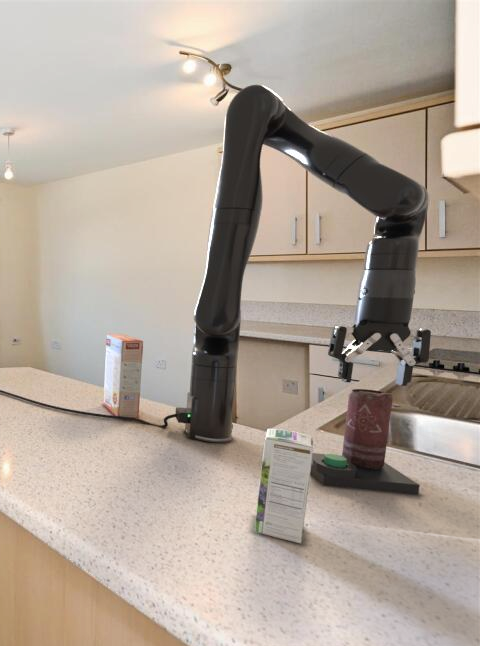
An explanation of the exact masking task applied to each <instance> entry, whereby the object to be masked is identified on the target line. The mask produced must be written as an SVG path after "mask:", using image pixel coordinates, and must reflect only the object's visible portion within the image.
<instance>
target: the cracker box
mask: <svg viewBox="0 0 480 646" xmlns="http://www.w3.org/2000/svg"><path fill="white" fill-rule="evenodd" d="M105 344H106V345H105V365H104V383H103V385H104V387H103V402H102V403H103V405H104V406H105V407H106V408H107V410H109V412H111V413H112V414H113V416H122V417H130V418H136V419H140V418H139V417H140V403H141V402H140V400H141V385H142V367H143V354H144V353H143V352H144V340H141V339H138V338H136V337H133V336H130V335H126V334H121V333H120V334H119V333H117V334H114V333H113V334H106V343H105Z"/></svg>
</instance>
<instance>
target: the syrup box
mask: <svg viewBox="0 0 480 646" xmlns="http://www.w3.org/2000/svg"><path fill="white" fill-rule="evenodd" d="M313 438H314V437H313V436H312V435H308V434H305V433H301V432H297V431H293V430H287V429H279V428H267V430H266V435H265V439H264V445H263V452H262V459H261V468H260V474H259V481H258V482H259V484H258V494H257V505H256V514H255V522H254V532H255V533H258V534H262V535H264V536H265V535H266V536H269V537H273V538H276V539H280V540H285V541H290V542H293V543H297V544H302V543H303V542H302V541H303V534H304V527H305V526H304V525H305V518H306V511H307V503H308V494H309V486H310V478H311V474H310V471H311V462H312V453H314V452H313V451H314V439H313Z"/></svg>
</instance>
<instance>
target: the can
mask: <svg viewBox="0 0 480 646" xmlns="http://www.w3.org/2000/svg"><path fill="white" fill-rule="evenodd" d="M393 398H394V396H393V394H392V393H389V392H384V391H381V390H374V389H365V388H354V389H351V392H350V393H349V394H348V399H347V400H348V401H347V408H346V409H347V410H346V419H345V426H344V435H343V443H342V450H341V452H342V454H341V456H343V457H345V458H346V459H347V462H350V463H352V464H354V465H355V466H356V467H358V468H363V469H369V470H378V469H381V468H382V467H383V466H384V462H385V461H386V453H387V446H388V437H389V429H390V422H391V414H392V407H393V401H394V399H393Z"/></svg>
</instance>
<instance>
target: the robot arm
mask: <svg viewBox="0 0 480 646" xmlns="http://www.w3.org/2000/svg"><path fill="white" fill-rule="evenodd" d="M222 145H223V146H222V158H221V163H220V164H221V165H220V170H219V175H218V180H217V184H216V191H215V195H214V196H215V197H214V200H213V201H214V202H213V205H212V206H213V207H212V210H211V217H210V222H209V229H208V237H207V246H206V247H207V249H206V266H205V272H204V278H203V281H202V285H201V289H200V292H199V295H198V299H197V302H196V305H195V308H194V311H193V321H194V334H193V335H194V337H193V346H192V352H191V364H190V365H191V368H190V381H189V391H188V392H187V396H186V407H180V406H179V407H176V406H175V413H172V414H170V415H166V416H165V417H164V418H163V424H162V425H161V424H160V425H159V424H153V423H151V422H149V421H146V420H143V419H141V418H130V417H122V416H116V415H111V414H104V413H103V414H102V413H95V412H88V411H81V410H75V409H71V408H70V409H69V408H66V407H60V406H56V405H52V404H47V403H44V402H40V401H36V400H34V399H30V398H26V397H24V396H21V395H18V394H14V393H11V392H8V391H5V390H2V389H0V393H2V394H5V395H7V396H10V397H14V398H16V399H20V400H23V401H25V402H28V403H32V404H35V405H39V406H43V407H46V408H50V409H54V410H57V411H62V412H68V413H74V414H79V415H84V416H92V417H99V418H106V419H116V420H125V421H131V422H137V423H141V424H144V425H149V426H153V427H158V428H162V429H165V428H167V427H168V426H169V423H168V420H169V419H174V418H175V419H176V421H177V423H179V424H185V425H184V431H185V433H186V435H187V437H188V439H191V440H192V439H193V440H198V441H202V442H208V443H215V444H217V443H220V444H221V443H228V442H231V441H232V438H233V434H232V433H233V429H234V424H233V419H234V409H235V407H234V406H235V395H236V394H235V393H236V382H237V371H238V358H239V348H240V335H241V324H242V323H241V322H242V310H241V308H242V307H241V305H242V304H241V303H242V302H241V301H242V289H243V281H244V276H245V271H246V268H247V264H248V262H249V259H250V256H251V254H252V251H253V249H254V245H255V242H256V237H257V234H258V229H259V225H260V220H261V216H262V211H263V210H262V209H263V198H264V197H263V181H262V173H261V171H262V169H261V156H262V151H263V147H264V146H266V147H269V148H271V149H274V150H276V151H277V152H280V153H282V154H283V155H285V156H287V157H289V158H290V160H293V161H294V162H295V163H297V165H299V166H301V167H302V169H304V170H305V171H307V172H308V173H309V174H311V175H312V176H314V177H315V178H316V179H318V180H320V181H321V182H322V183H325V184H326V185H328V186H329V187H331V188H332V189H334V190H336V191H337V192H339V193H341V194H343V195H346V196H347V197H349V198H350V199H351V200H352V201H354V202H355V203H357V204H358V206H361V207H362V208H363V209H365V210H366V211H367V212H369V213H370V214H372V215H374V217H375V221H374V227H373V232H372V237H371V238H370V239H369V241H368V243H367V244H366V248H365V253H364V260H363V268H362V273H361V275H360V276H361V277H360V280H359V285H358V293H357V300H356V308H355V314H354V324H353V325H352V326H343V325H339V324H336V325H334V326H333V327H332V331H331V336H330V341H329V346H328V349H327V350H328V351H327V355H328V356H329V357H331V358H335V359H336V360H338V362H339V364H338V365H339V366H338V372H337V377H338V378H339V379H340V380H341V382H344V383H351V382H352V377H353V369H354V362H353V361H354V360H355V359H356V358H357V357H358V356H359V355H362V354H363V353H365V352H366V351H369V352H379V351H381V352H385V353H391V354H393V355H394V356H395V358H396V359H397V360H398V362H399V363H397V366H396V367H397V368H396V375H395V381H394V382H395V385H398V386H403V387H406V386H408V384H410V383H411V381H412V378H413V371H414V366H416V365H417V364H418V365H419V364H421V363H422V364H426V363H428V361H430V348H431V336H432V332H431V329H427V328H421V327H416V328H413V329H410V326H409V324H410V322H411V317H412V311H413V305H414V298H415V294H416V283H417V280H416V279H417V277H416V272H417V271H416V269H417V263H418V258H419V257H418V256H419V250H420V248H419V247H420V239H421V235H422V233H423V230H424V225H425V222H426V218H427V214H428V210H429V203H430V202H429V201H430V196H429V192H428V190H427V188H426V187H425V186H424V185H422V184H421V183H419V182H418V181H417V180H415V179H413V178H411V177H410V176H407V175H405V174H403V173H402V172H399V171H397V170H395V169H393V168H391V167H389V166H388V165H385V164H382V163H380V162H379V161H378V160H377V159H376V158H375V157H373V156H372V155H371V154H369V153H367V152H365V151H363V150H361V149H360V148H359V147H356V146H355V145H353V144H351V143H349V142H347V141H345V140H343V139H341V138H339V137H337V136H334V135H332V134H329V133H327V132H325V131H322V130H320V129H318V128H315V127H314V126H312V125H311V124H309V123H307V122H306V121H304V120H303V119H302V118H301V117H299V116H298V115H297V114H296V113H295V112H293V110H291V109H290V107H288V105H286V104H285V103H284V100H283V99H282V98H281V97H280V96H279V95H278V94H277V93H276V92H274V91H273V90H272V89H270V88H268V87H266V86H265V85H261V84H251V85H248V86H245V87H244V88H242V89H240V90H239V91H238V92H237V93H236V94H235V95H234V97H232V99H231V100H230V102H229V104H228V106H227V108H226V113H225V117H224V129H223V144H222ZM263 145H264V146H263ZM350 334H351V336H353V338H354V340H352V342H350V343H349V344H348V345H347V346H346V348H345V349H344V346H345V342H346V339H348V337H349V336H350ZM409 337H410V340H411V341H412V348H411V349H412V351H411V352H410V349H408V347H407V346H406V344H405V341H406V340H407V339H408V338H409Z"/></svg>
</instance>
